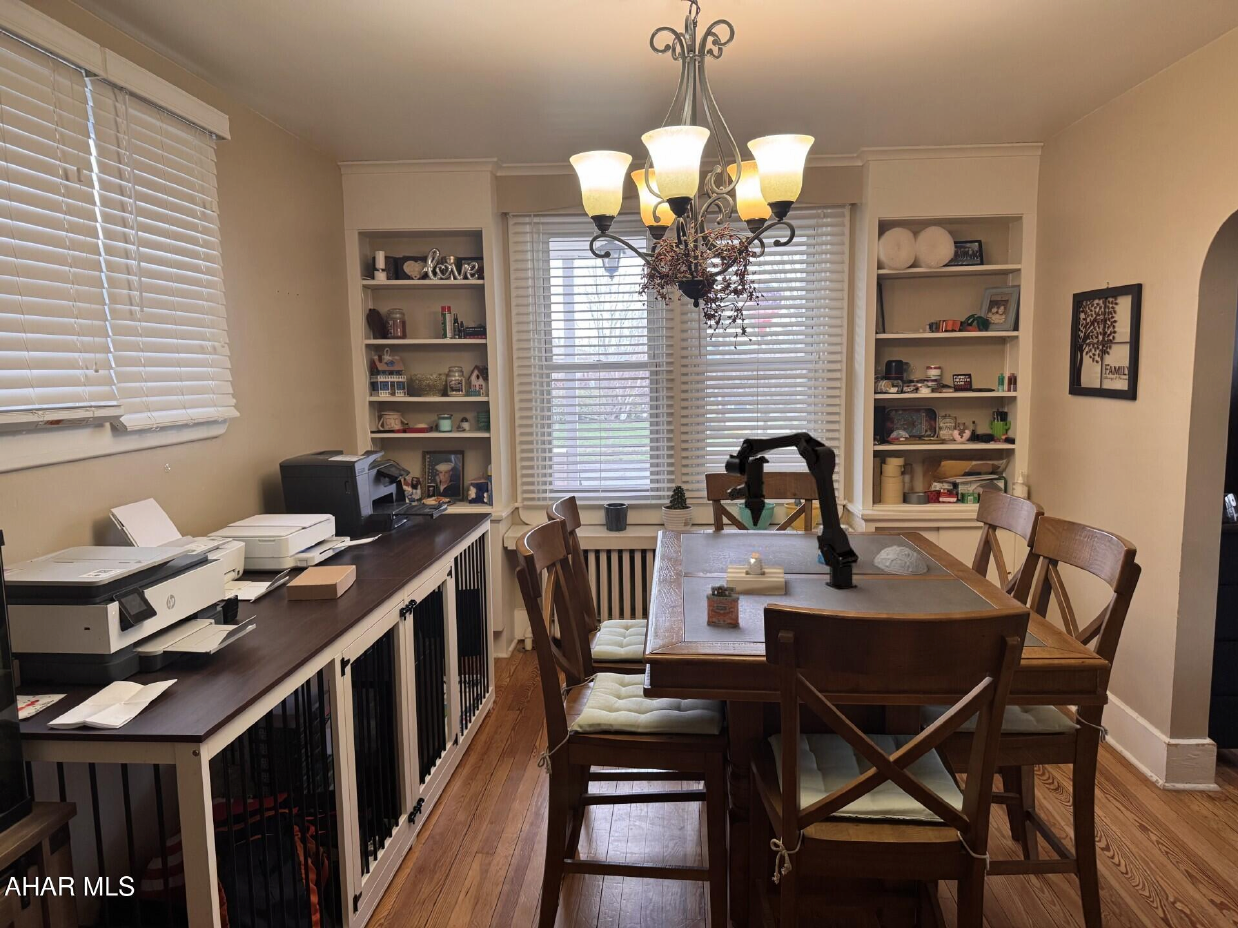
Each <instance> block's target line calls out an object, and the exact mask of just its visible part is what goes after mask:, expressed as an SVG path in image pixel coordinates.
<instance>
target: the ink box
mask: <svg viewBox="0 0 1238 928" xmlns="http://www.w3.org/2000/svg"><path fill="white" fill-rule="evenodd" d="M840 525H841V527H842V529H843V530H844V531H845V533H846V534H847V536H848V540H849V541H850V539H849V537H850V527H849V526H846V525H844V524H841V523H840ZM822 531H823V525H820V526H819V527H818V532H817V533H818V534H817V535H821V534H822ZM840 559H842V558H841V557H840ZM817 563H820V564H823V565H825V562H824V559H823V556H822V554H821V552H820V550H818V549H817Z"/></svg>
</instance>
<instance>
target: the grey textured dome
mask: <svg viewBox="0 0 1238 928" xmlns="http://www.w3.org/2000/svg"><path fill="white" fill-rule="evenodd" d="M873 563H874V566H876V567H878V568H880V569H881V570H884V571H886V572H888V573H893V574H897V575H903V576H904V575H905V576H910V575H921V574H925V573H927V572H928V570H929V569H928V567H927V564H926V563H925V562H924V560H923V559H922V558H921V556H920V555H919V554H918V553H917V552H915V551H913V550H911V549H910V548H909V547H905V546H898V545H897V544H896V545H893V546H891V547H890V546H889V547H885V548H884V549H882V551H880V553H878V554H877V556H876V557H875V559H874V561H873Z"/></svg>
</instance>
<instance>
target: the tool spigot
mask: <svg viewBox="0 0 1238 928" xmlns="http://www.w3.org/2000/svg"><path fill="white" fill-rule="evenodd" d="M747 562H748V565H747V566H748V573H749V575H763V566H764V565H763V563H764V562H763V558H760V557H759V558H752V557H749V558H748V560H747Z"/></svg>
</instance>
